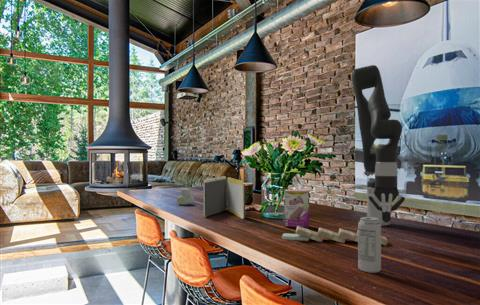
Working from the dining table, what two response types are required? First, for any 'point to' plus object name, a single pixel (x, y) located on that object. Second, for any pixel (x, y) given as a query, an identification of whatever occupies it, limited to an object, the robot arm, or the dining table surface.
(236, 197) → the grey folded panel
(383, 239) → the domino
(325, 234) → the domino
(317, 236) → the domino
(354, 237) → the domino
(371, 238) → the energy drink can
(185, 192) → the air freshener
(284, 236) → the domino
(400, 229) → the dining table surface
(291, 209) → the candy bar box
